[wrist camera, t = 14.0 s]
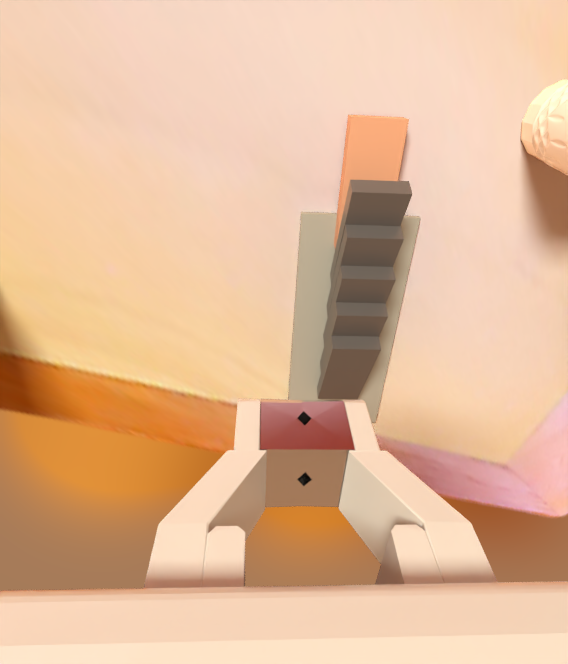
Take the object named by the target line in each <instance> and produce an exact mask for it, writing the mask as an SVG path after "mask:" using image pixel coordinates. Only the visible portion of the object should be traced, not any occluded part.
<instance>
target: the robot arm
mask: <svg viewBox="0 0 568 664" xmlns="http://www.w3.org/2000/svg"><path fill="white" fill-rule="evenodd" d="M287 506H323V507H339V510H340V511H341V513H342V514H343V515H344V516H345V518H346V519H347V520H348V522H349V523H350V524H351V526H352V527H353V528H354V530H355V531H356V532H357V533H358V535H359V536H360V538H361V539H362V540H363V541H364V542H365V544H366V545H367V547H368V548H369V549H370V551H371V552H372V553H373V555H374V556H375V557H376V559H377V560H378V561H379V562H380V564H381V566H380V570H379V573H378V576H377V580H376V583H375V585H330V586H329V585H326V586H325V585H324V586H264V587H263V586H261V587H245V541H246V539H247V538H248V536H249V534H250V533H251V531H252V530H253V528H254V526H255V525H256V523H257V521H258V520H259V518H260V517H261V515H262V513H263V512H264V510H265V507H287ZM0 664H568V582H510V583H509V582H508V583H507V582H506V583H498V582H497V580H496V578H495V575H494V573H493V571H492V569H491V567H490V564H489V562H488V560H487V558H486V555H485V553H484V551H483V549H482V546H481V544H480V542H479V540H478V538H477V535H476V533H475V531H474V529H473V526H472V524H471V523H470V522H469V521H468V520H467V519H466V518H465V517H463V516H462V515H461V514H460V513H459V512H458V511H456V510H455V509H454V508H453V507H452V506H451V505H449V504H448V503H447V502H446V501H445V500H444V499H442V498H441V497H440V496H439V495H438V494H437V493H435V492H434V491H433V490H432V489H431V488H430V487H428V486H427V485H426V484H425V483H424V482H423V481H421V480H420V479H419V478H418V477H417V476H416V475H414V474H413V473H412V472H411V471H410V470H409V469H407V468H406V467H405V466H404V465H403V464H402V463H400V462H399V461H398V460H397V459H396V458H394V457H393V456H392V455H391V454H390V453H389V452H387V451H380V448H379V445H378V441H377V438H376V435H375V432H374V428H373V425H372V422H371V419H370V415H369V412H368V409H367V406H366V402H365V401H364V400H342V401H341V400H280V399H261V400H260V399H239V400H238V405H237V418H236V431H235V444H234V450H227V452H226V453H225V454H224V455H223V456H222V457H221V458H220V459H219V460H218V461H217V462H216V464H215V465H214V466H213V467H212V468H211V469H210V470H209V471H208V472H207V473H206V474H205V475H204V476H203V477H202V479H200V481H199V482H198V483H197V484H196V485H195V486H194V487H193V488H192V489H191V490H190V491H189V492H188V493H187V494H186V496H185V497H184V498H183V499H182V500H181V501H180V502H179V503H178V504H177V505H176V506H175V507H174V509H172V511H171V512H170V513H169V514H168V515H167V516H166V517H165V518H164V519H163V520H162V521H161V522H160V523H159V525H158V529H157V533H156V537H155V542H154V546H153V550H152V555H151V559H150V563H149V568H148V572H147V576H146V580H145V584H144V588H129V589H70V590H69V589H68V590H67V589H65V590H8V591H7V590H3V591H0Z"/></svg>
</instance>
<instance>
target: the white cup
mask: <svg viewBox="0 0 568 664" xmlns="http://www.w3.org/2000/svg"><path fill="white" fill-rule="evenodd" d="M521 140H522V142H523V144H524V147H525V149H526V151H527V153H529V154H531V155H532V156H534V157H536V158H537V159H539V160H541V161H543V162H545V163H546V164H547V165H549V166H551V167H553V168H554V169H556V170H558V171H561V172H562V173H564V174H566V175H568V79H563V80H561V81H559V82H557V83H555V84H553V85H551V86H549V87H547V88H545V89H544V90H543V91H542V92H541V93H540V94H539V95H538V96H537V97H536V98H535V99H534V100H533V101H532V102H531V103H530V105H529V107H528V110H527V112H526V114H525V116H524V118H523V120H522V130H521Z"/></svg>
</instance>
